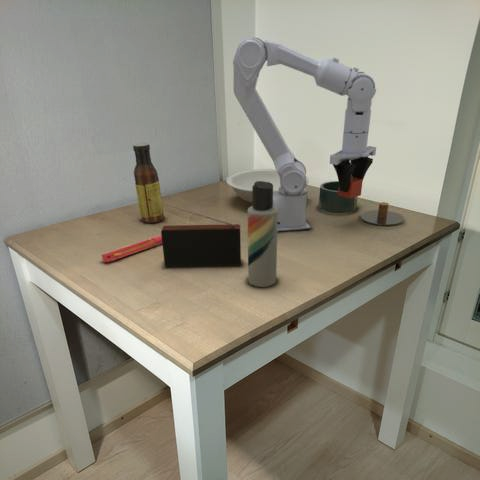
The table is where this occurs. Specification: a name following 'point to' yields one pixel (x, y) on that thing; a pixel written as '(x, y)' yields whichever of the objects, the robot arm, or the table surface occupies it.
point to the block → (353, 188)
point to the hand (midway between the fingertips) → (349, 189)
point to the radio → (201, 244)
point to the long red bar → (132, 248)
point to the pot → (335, 199)
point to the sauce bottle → (147, 185)
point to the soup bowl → (253, 181)
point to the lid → (382, 216)
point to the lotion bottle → (262, 236)
